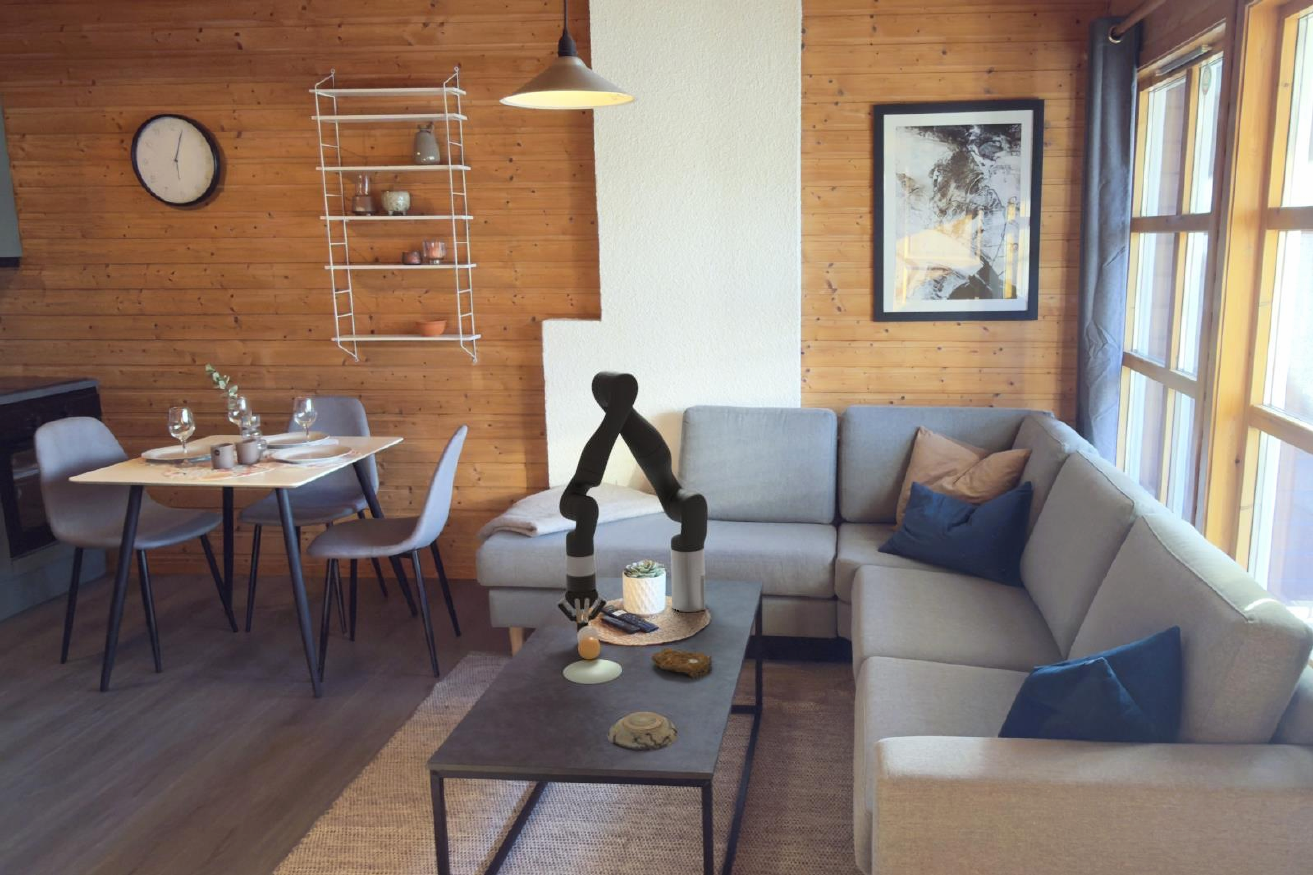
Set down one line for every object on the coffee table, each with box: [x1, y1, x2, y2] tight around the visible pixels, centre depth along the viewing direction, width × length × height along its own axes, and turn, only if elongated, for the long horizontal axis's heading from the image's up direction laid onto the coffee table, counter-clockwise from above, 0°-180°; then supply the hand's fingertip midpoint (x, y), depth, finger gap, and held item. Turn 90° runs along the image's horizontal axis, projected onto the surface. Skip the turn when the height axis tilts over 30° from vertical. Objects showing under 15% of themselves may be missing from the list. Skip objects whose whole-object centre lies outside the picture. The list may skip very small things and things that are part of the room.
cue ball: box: [576, 625, 600, 644], centre depth 266 cm, size 6×6×6 cm
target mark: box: [562, 658, 623, 685], centre depth 251 cm, size 14×14×1 cm
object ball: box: [577, 637, 601, 660], centre depth 259 cm, size 6×6×6 cm
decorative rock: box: [650, 648, 713, 679], centre depth 252 cm, size 11×4×15 cm
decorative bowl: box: [606, 711, 678, 752], centre depth 219 cm, size 15×4×15 cm
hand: (582, 635), depth 270 cm, fingers closed
